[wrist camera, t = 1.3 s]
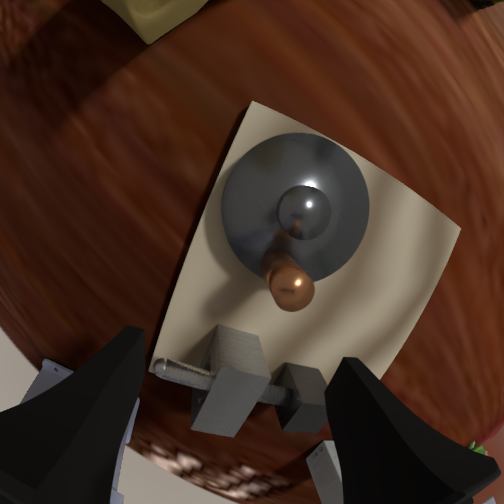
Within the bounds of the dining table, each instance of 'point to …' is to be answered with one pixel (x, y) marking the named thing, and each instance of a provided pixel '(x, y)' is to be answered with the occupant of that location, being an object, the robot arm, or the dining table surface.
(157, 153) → the dining table surface
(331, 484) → the skincare box
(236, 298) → the board
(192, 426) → the block
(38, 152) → the dining table surface
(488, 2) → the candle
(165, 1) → the cheese
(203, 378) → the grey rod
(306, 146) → the handwheel
